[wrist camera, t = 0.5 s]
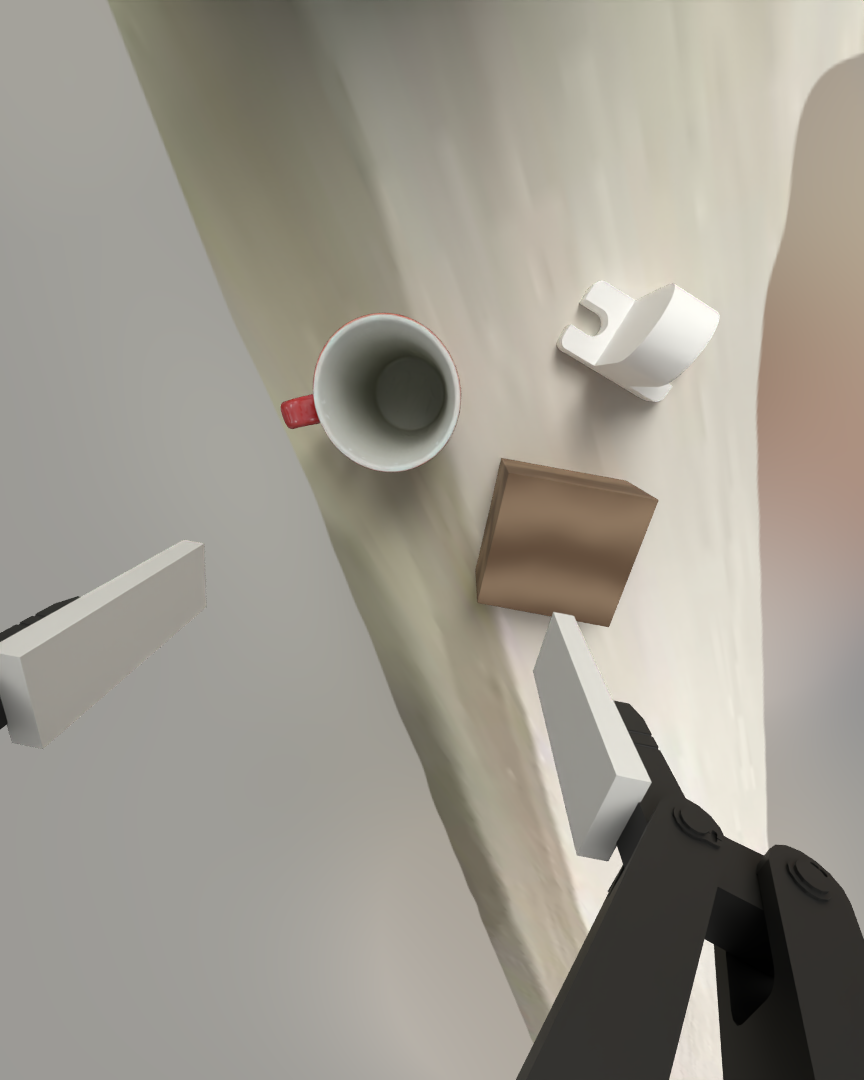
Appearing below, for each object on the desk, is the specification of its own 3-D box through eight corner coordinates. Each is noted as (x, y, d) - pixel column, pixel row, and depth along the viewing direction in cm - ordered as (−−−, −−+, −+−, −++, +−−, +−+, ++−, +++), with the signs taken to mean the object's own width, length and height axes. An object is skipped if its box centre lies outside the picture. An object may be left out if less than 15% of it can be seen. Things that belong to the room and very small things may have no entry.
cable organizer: (649, 403, 36) (714, 410, 26) (553, 346, 35) (586, 332, 25) (690, 344, 34) (776, 329, 24) (591, 282, 33) (641, 241, 23)
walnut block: (501, 457, 38) (508, 472, 32) (625, 480, 38) (658, 499, 32) (475, 569, 43) (477, 602, 36) (586, 590, 43) (608, 627, 36)
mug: (457, 331, 35) (452, 300, 22) (466, 438, 38) (467, 465, 25) (316, 351, 36) (236, 333, 23) (336, 453, 39) (276, 485, 27)
